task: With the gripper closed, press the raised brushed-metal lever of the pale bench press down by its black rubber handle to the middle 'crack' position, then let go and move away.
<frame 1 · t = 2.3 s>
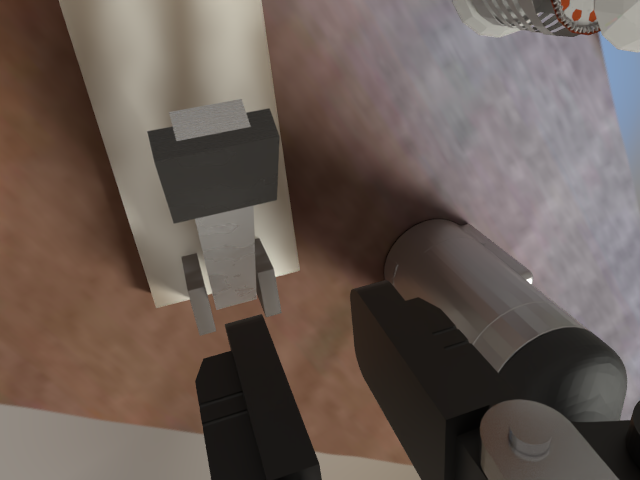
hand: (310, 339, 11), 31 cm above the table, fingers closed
press base: (196, 142, 39), on the table
lever: (227, 241, 31), point 12 cm above the table, hinge at 35.0°
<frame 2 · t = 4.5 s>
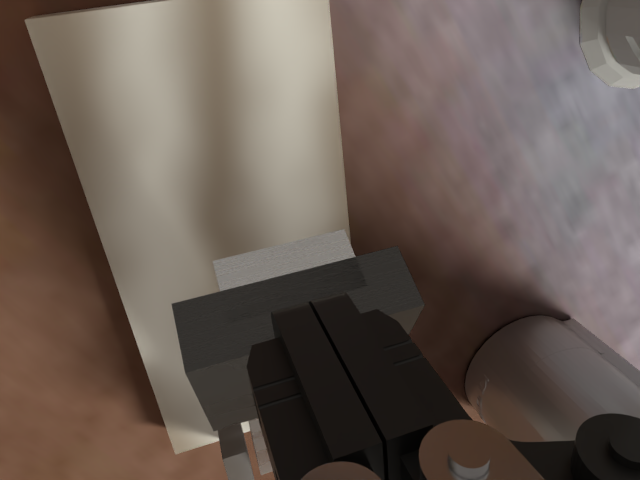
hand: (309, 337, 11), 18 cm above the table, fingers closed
press base: (232, 239, 29), on the table
lever: (288, 412, 20), point 11 cm above the table, hinge at 30.9°, touching gripper
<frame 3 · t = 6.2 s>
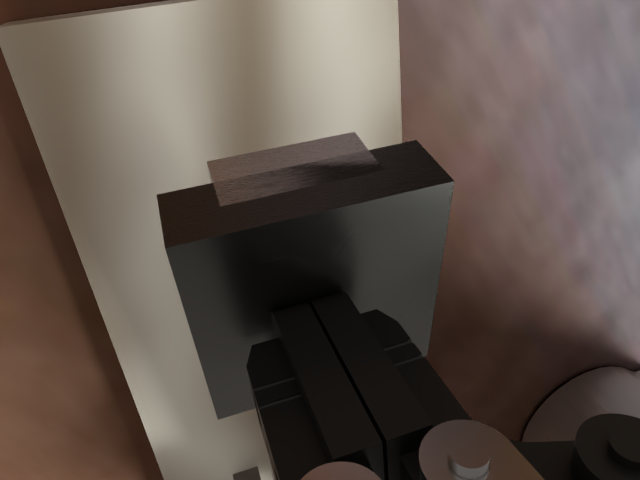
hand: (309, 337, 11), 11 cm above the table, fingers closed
press base: (261, 294, 23), on the table
lever: (320, 455, 16), point 8 cm above the table, hinge at 12.6°, touching gripper
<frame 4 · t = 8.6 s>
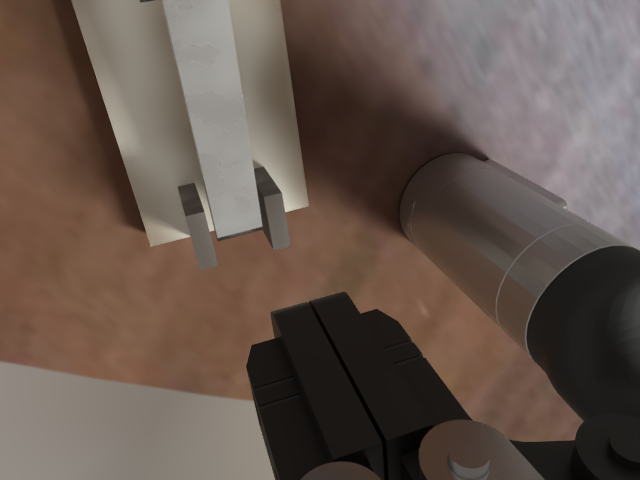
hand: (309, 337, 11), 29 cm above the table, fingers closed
press base: (191, 54, 35), on the table
lever: (212, 92, 28), point 8 cm above the table, hinge at 12.6°
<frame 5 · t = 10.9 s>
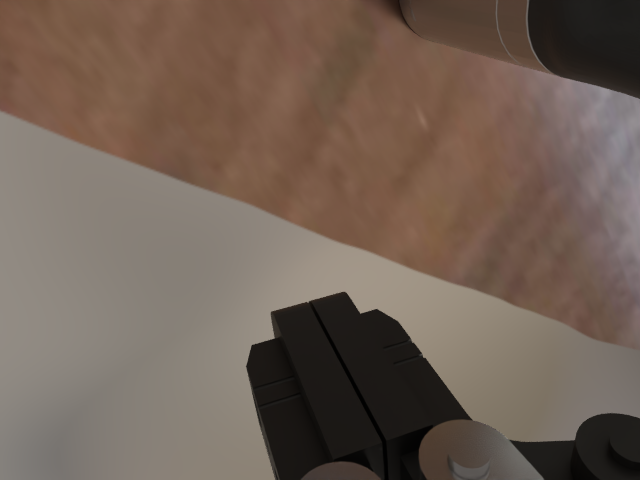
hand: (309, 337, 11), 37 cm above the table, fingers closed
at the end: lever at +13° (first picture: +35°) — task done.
